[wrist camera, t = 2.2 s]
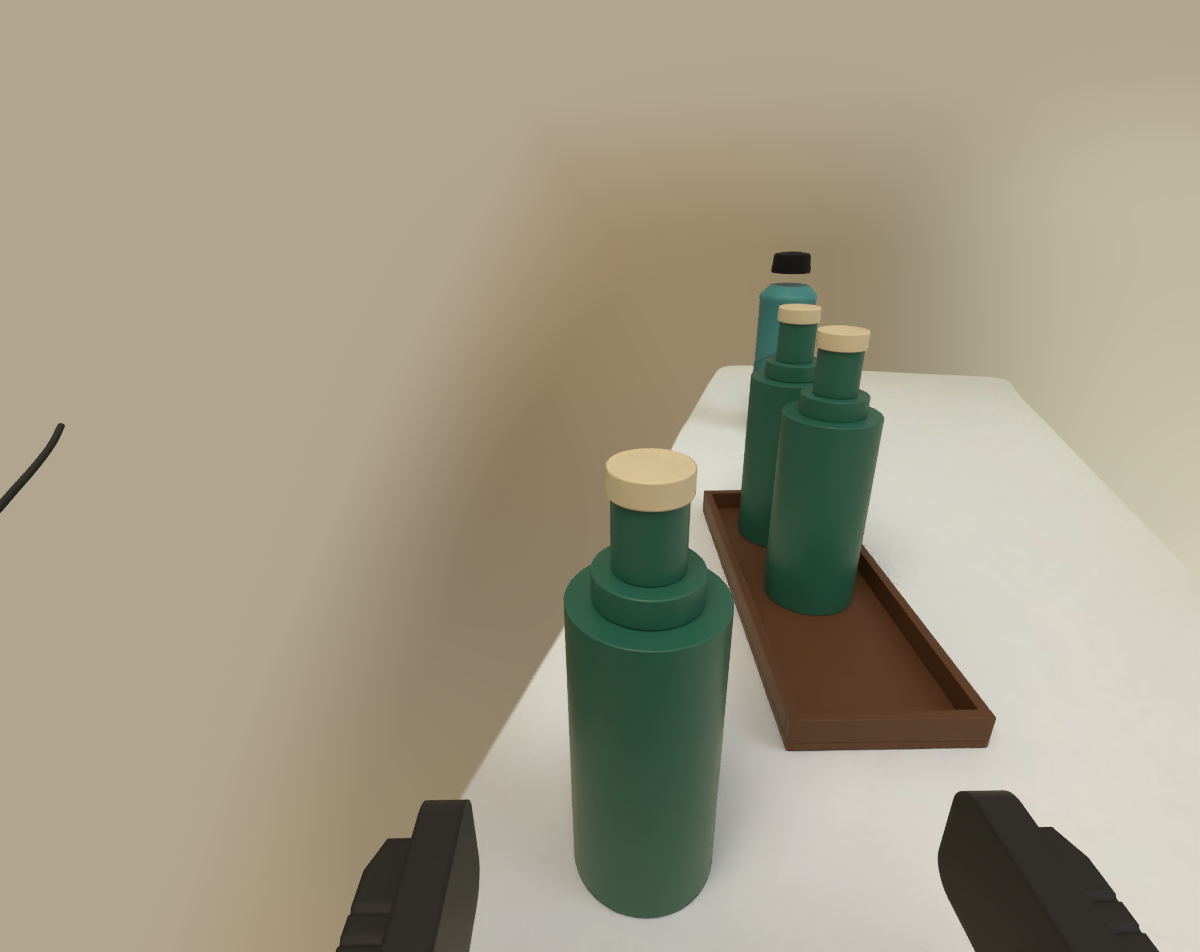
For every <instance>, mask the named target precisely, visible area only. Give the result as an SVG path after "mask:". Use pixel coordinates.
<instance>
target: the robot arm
mask: <svg viewBox="0 0 1200 952" xmlns="http://www.w3.org/2000/svg"><path fill="white" fill-rule="evenodd" d="M64 427H65V425H64V424H62V423H60V424H58V425H57V427H56V429H55V431H54V433H53V435H52V437H51V439H50V441H49V442H48V444H47V446H46V447H45V448H44V450H43V451H42V452H41V454H40V455H39V456H38V457H37V459H36V460H35V461H34V462H33V463H32V464H31V466H30V467H29V468H28V469H27V470H26V472H25V473H24V474H23V475H22V476H21V477H20V478H19V479H18V480H17V482H15V483H14V485H13V486H12V487H11V488H10V489H9V490H8V491H7V492H6V494H5V495H4V496H3V497H2V498H1V499H0V513H1V512H2V511H3V509H4V508H5V507H6V506H7V505H8V504H9V502H10V501H11V500H12V499H13V498H14V496H15V495H16V494H17V493H18V492H19V491H20V490H21V488H22V487H23V486H24V485H25V484H26V483H27V482H28V480H29V479H30V478H31V477H32V476H33V475H34V473H35V472H36V471H37V470H38V469H39V467H40V466H41V465H42V463H43V462H44V461H45V460H46V458H47V457H48V455H49V454H50V453H51V452H52V450H53V448H54V447H55V445H56V444H57V442H58V440H59V438H60V436H61V434H62V432H63V429H64ZM938 867H939V873H940V877H941V881H942V884H943V887H944V890H945V893H946V895H947V897H948V899H949V901H950V903H951V905H952V907H953V909H954V911H955V913H956V915H957V917H958V919H959V921H960V923H961V925H962V926H963V928H964V930H965V932H966V934H967V936H968V938H969V940H970V942H971V944H972V946H973V948H974V950H975V952H1159V951H1158V950H1157V948H1156V947H1155V946H1154V944H1153V943H1152V942H1151V940H1150V939H1149V938H1148V936H1147V935H1146V934H1145V933H1142V932H1141V931H1140V929H1139V924H1138V923H1137V922H1136V920H1135V919H1134V918H1133V916H1132V915H1131V914H1130V912H1129V911H1128V910H1127V908H1126V907H1125V906H1124V904H1123V903H1122V902H1119V901H1118V900H1117V899H1116V894H1115V892H1114V891H1113V890H1112V888H1111V887H1110V886H1109V884H1108V883H1107V882H1106V881H1105V879H1104V878H1103V877H1102V875H1101V874H1100V873H1099V871H1098V870H1097V869H1096V867H1095V866H1094V865H1093V863H1092V862H1091V861H1090V859H1089V858H1088V857H1087V856H1086V855H1084V854H1083V853H1082V852H1081V851H1080V850H1079V849H1077V848H1076V847H1075V846H1074V845H1073V844H1071V843H1070V842H1069V841H1068V840H1067V839H1066V838H1064V837H1063V836H1062V835H1061V834H1060V833H1058V832H1057V831H1056V830H1055V829H1054V828H1053V827H1038V826H1037V824H1036V823H1035V821H1034V820H1033V819H1032V817H1031V816H1030V814H1029V813H1028V812H1027V810H1026V809H1025V807H1024V806H1023V804H1022V803H1021V802H1020V801H1019V799H1018V798H1017V797H1016V796H1015V795H1013V794H1012V793H1011V792H1009V791H1005V790H999V791H960V792H958V793H956V795H955V796H954V799H953V802H952V806H951V809H950V813H949V816H948V820H947V823H946V827H945V830H944V834H943V837H942V841H941V844H940V848H939V852H938ZM479 872H480V869H479V855H478V848H477V841H476V834H475V827H474V819H473V812H472V806H471V802H470V800H427V801H424V802H423V804H422V805H421V808H420V811H419V813H418V817H417V820H416V824H415V827H414V831H413V834H412V837H411V838H399V839H398V838H397V839H387V840H386V841H385V843H384V844H383V846H382V847H381V848H380V849H379V851H378V852H377V854H376V855H375V856H374V858H373V859H372V860H371V861H370V863H369V864H368V866H367V867H366V868H365V870H364V871H363V874H362V877H361V880H360V883H359V886H358V889H357V892H356V894H355V898H354V900H353V903H352V906H351V913H350V915H348V918H347V920H346V924H345V926H344V929H343V932H342V935H341V938H340V945H339V947H337V949H336V952H469V949H470V943H471V937H472V931H473V925H474V919H475V913H476V907H477V900H478V891H479Z"/></svg>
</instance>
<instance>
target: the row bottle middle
mask: <svg viewBox="0 0 1200 952" xmlns="http://www.w3.org/2000/svg"><path fill="white" fill-rule="evenodd" d="M869 340H870V331H869V330H867V329H864V328H860V327H853V326H824V327H821V328H818V331H817V339H816V347H818V352H817V360H816V368H815V376H814V383H813V386H808V387H805V388H803V389H802V390H801V391H800V400H798V401H794V402H791V403H788V404H786V405H785V406H784V407H783V409H782V417H781V426H780V435H779V444H778V454H777V463H776V472H775V481H774V490H773V499H772V508H771V518H770V527H769V536H768V545H767V554H766V563H765V572H764V582H763V587H764V590H765V592H766V594H767V595H768V597H769V598H770V599H771V600H772V601H774V602H775V603H776V604H778V605H780V606H781V607H783V608H785V609H788V610H790V611H793V612H796V613H800V614H805V615H813V616H825V615H832V614H836V613H839V612H841V611H843V610H845V609H846V608H847V607H848V606H849V605H850V603H851V601H852V596H853V590H854V584H855V579H856V573H857V568H858V562H859V557H860V551H861V545H862V540H863V534H864V529H865V523H866V517H867V512H868V506H869V501H870V495H871V489H872V484H873V478H874V473H875V467H876V461H877V456H878V450H879V445H880V439H881V434H882V428H883V422H884V417H883V415H882V414H881V413H880V412H879V411H877V410H876V409H874V408H871V407H869V402H870V395H869V394H868V393H867V392H865V391H862V390H860V389H859V385H860V379H861V373H862V366H863V360H864V354H865V350H867V349H868V346H869Z"/></svg>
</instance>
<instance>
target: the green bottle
mask: <svg viewBox="0 0 1200 952" xmlns="http://www.w3.org/2000/svg"><path fill="white" fill-rule="evenodd" d="M605 479H606V480H605V486H606V495H607V496H608V498H609V499H610V529H611V530H610V535H611V536H610V539H611V546H609V547H607V548H605V549H603V550H602V551H601V552H599V553H598V554H597V555H596V557H595V558H594V560H593V561H592V564H591V565H590V566H588V567H586V568H585V569H583V570H582V571H580V572H579V573H578V574H577V575H576V576H575V577H574V578H573V579H572V580H571V582H570V583H569V585H568V586H567V589H566V591H565V595H564V619H565V643H566V666H567V689H568V713H569V736H570V760H571V783H572V806H573V830H574V853H575V861H576V866H577V869H578V872H579V874H580V876H581V879H582V881H583V882H584V884H585V885H586V887H587V888H588V890H589V891H590V892H591V893H592V894H593V895H594V897H596V898H597V899H598V900H599V901H600V902H601V903H603V904H604V905H606V906H607V907H609V908H610V909H612V910H614V911H616V912H618V913H621V914H624V915H627V916H632V917H637V918H655V917H661V916H665V915H669V914H671V913H674V912H676V911H678V910H680V909H682V908H683V907H685V906H686V905H687V904H689V903H690V902H691V901H692V900H693V899H694V898H695V897H696V896H697V895H698V894H699V893H700V891H701V890H702V888H703V887H704V885H705V883H706V881H707V878H708V875H709V872H710V868H711V862H712V850H713V839H714V828H715V817H716V805H717V794H718V783H719V772H720V760H721V749H722V738H723V727H724V715H725V704H726V693H727V682H728V670H729V659H730V648H731V637H732V625H733V614H734V601H733V597H732V594H731V592H730V590H729V588H728V587H727V585H726V584H725V583H724V582H723V581H722V580H721V578H720V577H718V576H717V575H716V574H715V573H713V572H712V571H710V570H709V569H707V567H706V564H705V562H704V561H703V559H702V558H701V557H700V556H699V555H698V554H697V553H695V552H694V551H692V550H691V549H689V548H688V542H689V522H690V503H691V501H692V500H693V499H694V497H695V494H696V479H697V466H696V463H695V462H694V461H693V460H692V459H691V458H690V457H688V456H686V455H684V454H682V453H679V452H675V451H671V450H665V449H655V448H653V449H652V448H645V449H634V450H628V451H624V452H621V453H618V454H616V455H614V456H612V457H611V458H610V459H609V460H608V461H607V463H606V466H605Z"/></svg>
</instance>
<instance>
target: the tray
mask: <svg viewBox="0 0 1200 952" xmlns="http://www.w3.org/2000/svg"><path fill="white" fill-rule="evenodd" d="M740 499H741V490H722V491H704V502H703V512H704V515H705V518H706V521H707V523H708V526H709V529H710V532H711V535H712V538H713V541H714V544H715V546H716V549H717V552H718V555H719V558H720V561H721V564H722V567H723V570H724V572H725V575H726V578H727V581H728V584H729V587H730V590H731V593H732V595H733V598H734V601H735V604H736V607H737V610H738V613H739V616H740V618H741V621H742V624H743V627H744V630H745V633H746V636H747V639H748V641H749V644H750V647H751V650H752V653H753V656H754V659H755V662H756V664H757V667H758V670H759V673H760V676H761V679H762V682H763V685H764V687H765V690H766V693H767V696H768V699H769V702H770V705H771V708H772V710H773V713H774V716H775V719H776V722H777V725H778V728H779V731H780V733H781V736H782V739H783V742H784V745H785V748H786V750H787V751H791V750H852V749H913V748H974V747H987V745H988V742H989V739H990V736H991V733H992V730H993V727H994V723H995V720H996V717H995V716H994V714H993V713H992V712H991V710H989V708H988V707H987V705H986V704H985V703H984V702H983V700H982V699H981V698H980V696H979V695H978V694H977V692H976V691H975V690H974V689H973V687H972V686H971V685H970V683H969V682H968V681H967V679H966V678H965V677H964V676H963V674H962V673H961V672H960V670H959V669H958V668H957V667H956V665H955V664H954V663H953V661H952V660H951V659H950V657H949V656H948V655H947V654H946V652H945V651H944V650H943V648H942V647H941V646H940V644H939V643H938V642H937V641H936V639H935V638H934V637H933V635H932V634H931V633H930V632H929V630H928V629H927V628H926V626H925V625H924V624H923V622H922V621H921V620H920V619H919V617H918V616H917V615H916V613H915V612H914V611H913V609H912V608H911V607H910V606H909V604H908V603H907V602H906V600H905V599H904V598H903V597H902V595H901V594H900V593H899V591H898V590H897V589H896V587H895V586H894V585H893V584H892V582H891V581H890V580H889V578H888V577H887V576H886V574H885V573H884V572H883V571H882V569H881V568H880V567H879V565H878V564H877V563H876V562H875V560H874V559H873V558H872V556H871V555H870V554H869V552H868V551H867V550H866V549H865V547H864V546H863V545H861V551H860V557H859V562H858V568H857V573H856V579H855V584H854V590H853V596H852V601H851V603H850V605H849V606H848V607H847V608H846V609H845V610H843V611H841V612H839V613H836V614H832V615H825V616H813V615H805V614H800V613H796V612H793V611H790V610H788V609H785V608H783V607H781V606H780V605H778V604H776V603H775V602H774V601H772V600H771V599H770V598H769V597H768V595H767V594H766V592H765V590H764V587H763V582H764V572H765V563H766V554H767V547H763V546H759V545H756V544H754V543H752V542H750V541H748V540H746V539H745V538H744V537H743V536H742V535H741V534H740V532H739V530H738V522H739V510H740Z"/></svg>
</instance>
